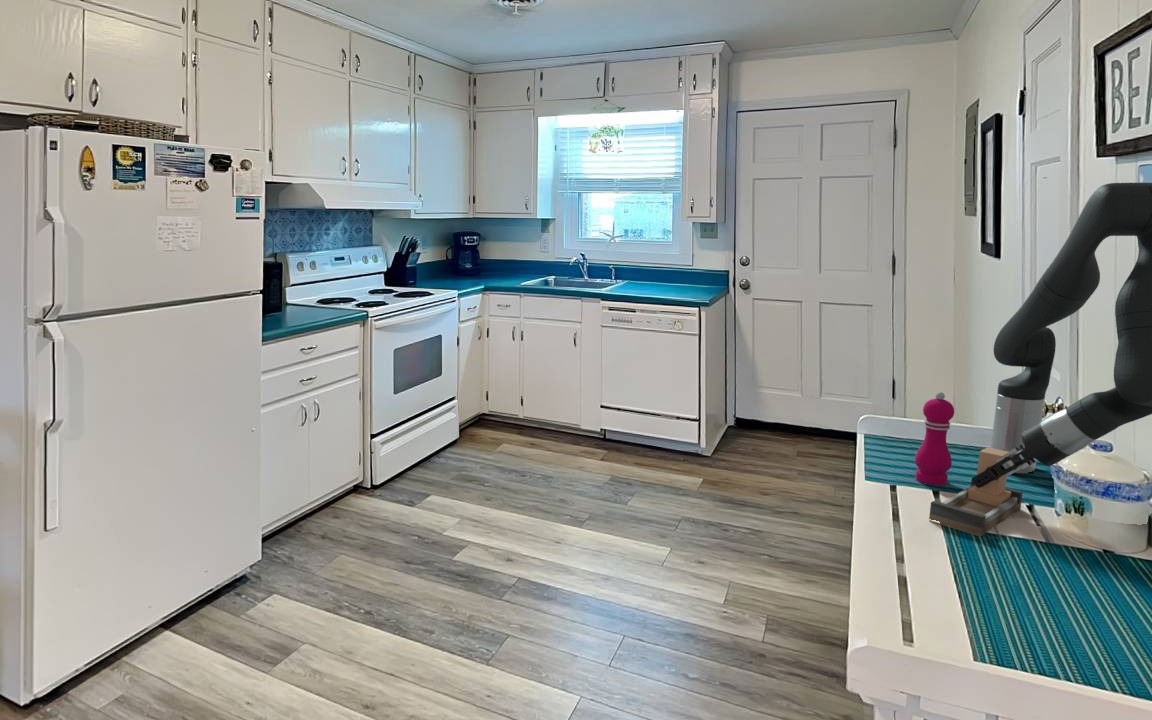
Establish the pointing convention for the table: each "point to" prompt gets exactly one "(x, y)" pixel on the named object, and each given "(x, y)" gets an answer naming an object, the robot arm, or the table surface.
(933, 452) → the pepper mill
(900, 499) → the table surface
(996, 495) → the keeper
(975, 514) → the track
